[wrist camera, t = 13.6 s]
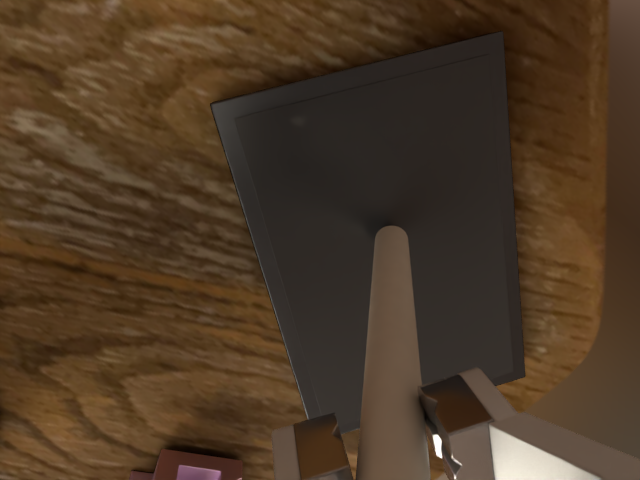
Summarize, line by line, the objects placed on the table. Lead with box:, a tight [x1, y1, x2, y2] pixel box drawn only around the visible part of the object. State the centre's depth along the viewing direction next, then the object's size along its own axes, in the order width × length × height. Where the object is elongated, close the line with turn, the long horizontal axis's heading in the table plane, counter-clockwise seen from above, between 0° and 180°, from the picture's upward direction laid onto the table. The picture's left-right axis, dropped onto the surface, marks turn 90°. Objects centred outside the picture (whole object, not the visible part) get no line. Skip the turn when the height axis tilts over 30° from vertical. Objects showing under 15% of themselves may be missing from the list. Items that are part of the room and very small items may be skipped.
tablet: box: [210, 31, 525, 434], centre depth 22 cm, size 19×13×1 cm
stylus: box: [356, 226, 431, 480], centre depth 14 cm, size 2×2×15 cm
